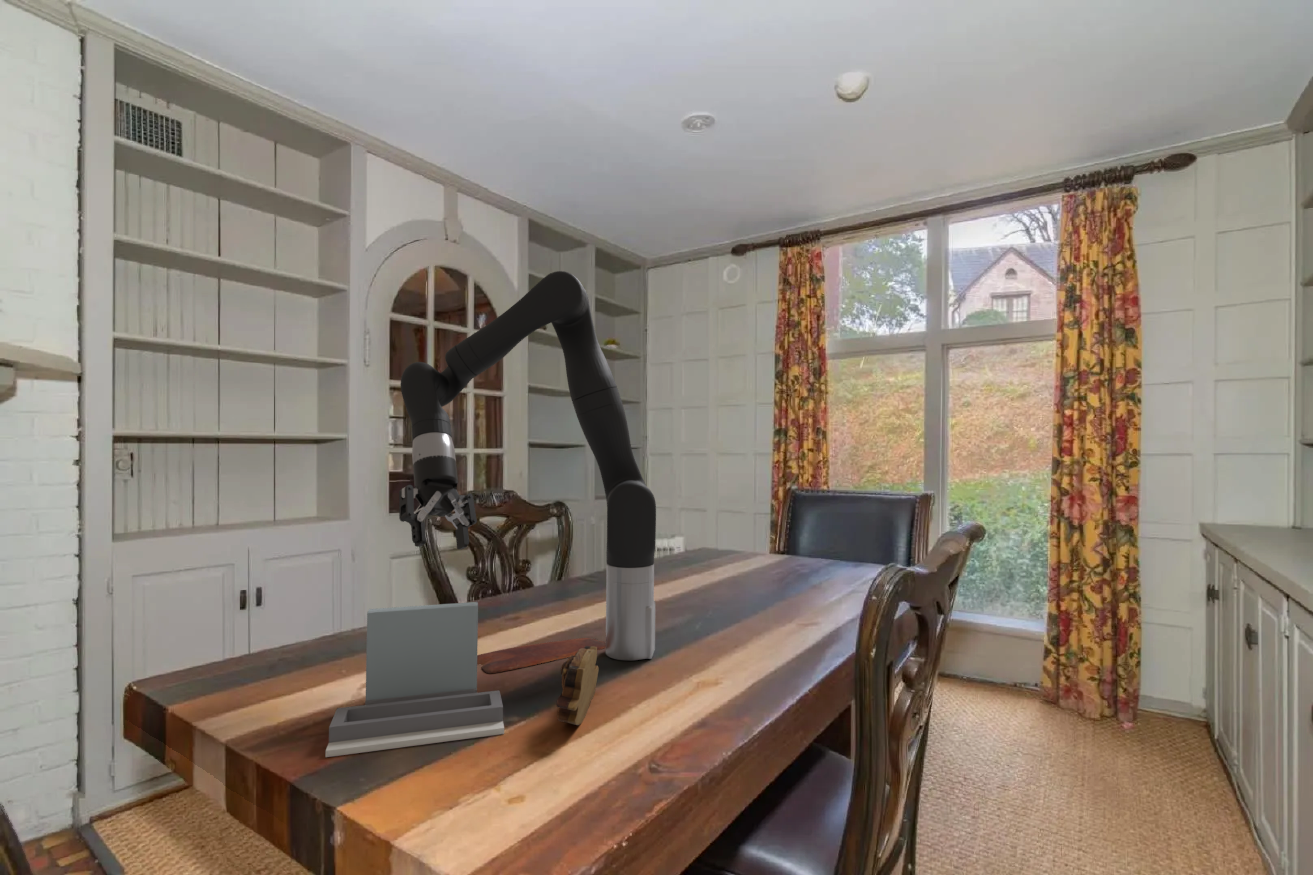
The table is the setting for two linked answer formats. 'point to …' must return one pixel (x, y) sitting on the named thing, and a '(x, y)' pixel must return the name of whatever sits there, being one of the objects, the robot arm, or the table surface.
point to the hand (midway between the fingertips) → (442, 546)
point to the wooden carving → (577, 685)
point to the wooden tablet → (533, 654)
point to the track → (415, 722)
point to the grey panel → (421, 652)
